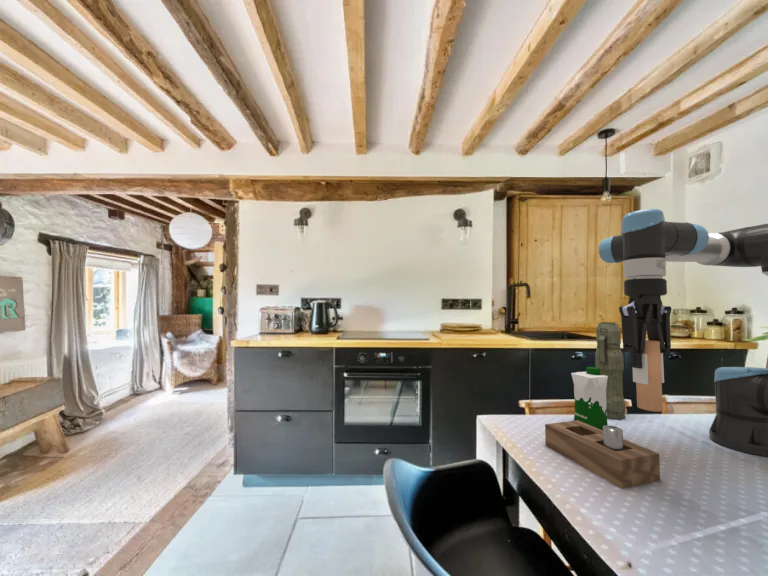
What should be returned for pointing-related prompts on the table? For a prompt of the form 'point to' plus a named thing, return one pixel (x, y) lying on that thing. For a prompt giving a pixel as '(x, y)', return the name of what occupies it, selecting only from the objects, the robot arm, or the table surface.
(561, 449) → the hole block
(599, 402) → the milk carton
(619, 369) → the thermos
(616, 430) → the steel pin
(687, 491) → the table surface
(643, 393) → the peg
